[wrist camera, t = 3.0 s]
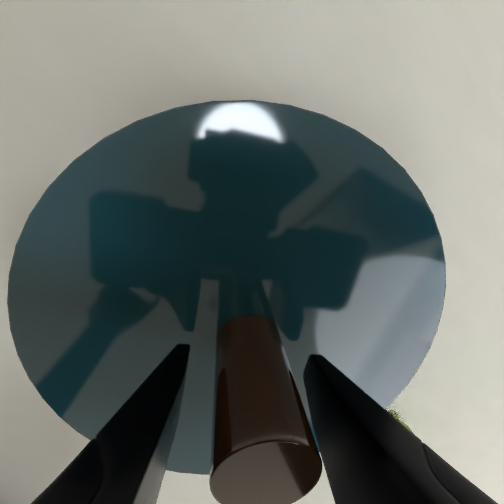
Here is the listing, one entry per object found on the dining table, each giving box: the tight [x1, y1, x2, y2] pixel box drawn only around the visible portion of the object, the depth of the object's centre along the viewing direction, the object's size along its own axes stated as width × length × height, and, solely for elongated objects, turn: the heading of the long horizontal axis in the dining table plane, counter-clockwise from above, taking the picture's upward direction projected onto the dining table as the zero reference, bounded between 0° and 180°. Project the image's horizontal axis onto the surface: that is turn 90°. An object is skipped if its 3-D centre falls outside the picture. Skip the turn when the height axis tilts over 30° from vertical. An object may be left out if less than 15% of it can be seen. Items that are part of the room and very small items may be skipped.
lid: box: [7, 100, 446, 504], centre depth 7 cm, size 16×16×5 cm
